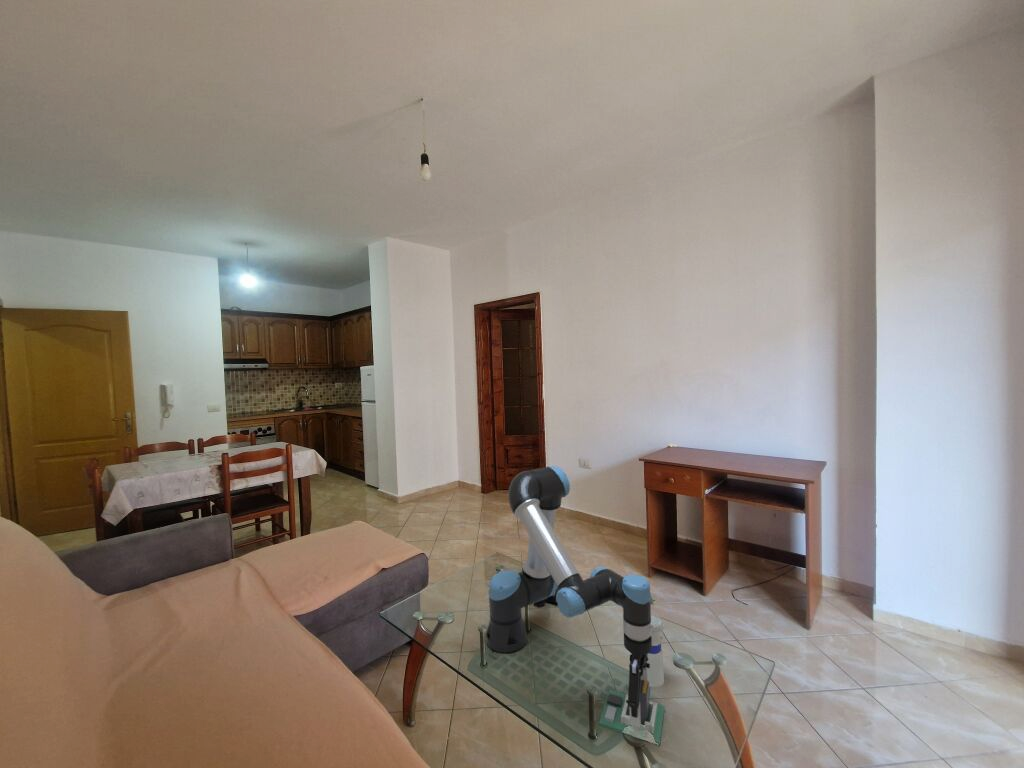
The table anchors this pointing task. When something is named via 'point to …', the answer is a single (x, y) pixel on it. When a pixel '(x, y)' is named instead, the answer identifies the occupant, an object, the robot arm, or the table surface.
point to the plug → (643, 701)
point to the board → (619, 718)
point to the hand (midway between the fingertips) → (639, 706)
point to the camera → (549, 599)
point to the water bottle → (655, 653)
